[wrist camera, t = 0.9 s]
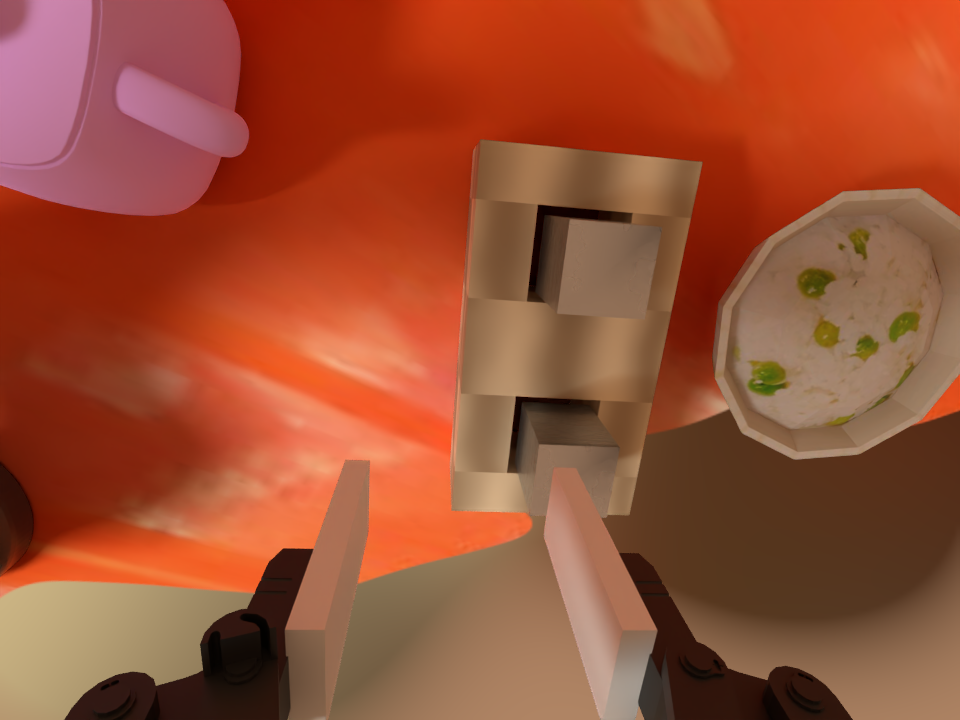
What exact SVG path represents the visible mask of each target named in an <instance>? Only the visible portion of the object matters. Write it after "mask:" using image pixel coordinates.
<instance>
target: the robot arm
mask: <svg viewBox="0 0 960 720" xmlns="http://www.w3.org/2000/svg"><path fill="white" fill-rule="evenodd" d="M369 467H370V461H363V460H345V463H344V466H343V469H342V471H341V474H340V477H339V480H338V483H337V485H336V488H335V491H334V494H333V497H332V499H331V502H330V505H329V508H328V511H327V513H326V516H325V519H324V522H323V525H322V527H321V530H320V533H319V536H318V538H317V541H316V544H315V547H314V549H286V548H283V549H282V550H281V551H280V552H279V553H278V554H277V555H276V556H275V557H274V558H273V559H272V560H271V561H270V562H269V563H268V565H267V567H266V569H265V572H264V574H263V576H262V578H261V581H260V582H259V584H258V587H257V589H256V591H255V594H254V595H253V598H252V600H251V602H250V604H249V606H248V608H247V609H241V610H238V611H235V612H232V613H229V614H227V615H225V616H223V617H222V618H220V619H219V620H217V621H216V622H214V623H213V624H212V625H211V626H210V628H209V629H208V630H207V631H206V632H205V634H204V636H203V639H202V641H201V644H200V646H201V655H202V664H203V671H201V672H199V673H197V674H194V675H192V676H189V677H186V678H183V679H180V680H176V681H173V682H169V683H165V684H162V685H158V686H156V685H155V682H154V679H153V678H151V677H150V676H148V675H147V674H145V673H139V672H129V673H123V674H118V675H115V676H113V677H111V678H109V679H106V680H104V681H102V682H100V683H98V684H97V685H96V686H95V687H93V688H92V689H90V690H89V691H88V692H86V693H85V694H84V695H83V696H82V697H81V698H80V699H79V700H78V702H77V703H76V704H75V705H74V706H73V708H72V709H71V710H70V712H69V714H68V715H67V716H66V718H65V720H287V719H288V716H289V720H328V718H329V713H330V709H331V704H332V699H333V695H334V690H335V686H336V681H337V676H338V671H339V667H340V662H341V658H342V652H343V648H344V643H345V639H346V634H347V629H348V625H349V619H350V615H351V611H352V606H353V601H354V596H355V592H356V587H357V583H358V578H359V573H360V568H361V564H362V559H363V554H364V550H365V545H366V540H367V536H368V522H369ZM32 532H33V517H32V512H31V508H30V505H29V502H28V500H27V498H26V496H25V494H24V492H23V490H22V488H21V487H20V485H19V484H18V483H17V481H16V480H15V479H14V477H13V476H12V475H11V474H10V473H9V472H8V471H7V470H6V469H5V468H4V467H3V466H2V465H1V464H0V576H2V575H3V574H4V573H5V572H6V571H7V570H9V569H10V568H11V567H12V566H13V565H14V564H15V563H16V562H18V561H19V559H20V558H21V557H22V556H23V555H24V553H25V552H26V550H27V548H28V546H29V544H30V541H31V538H32ZM544 538H545V541H546V544H547V548H548V551H549V554H550V558H551V561H552V564H553V567H554V571H555V574H556V577H557V580H558V584H559V586H560V590H561V593H562V597H563V600H564V603H565V606H566V610H567V613H568V616H569V619H570V623H571V626H572V629H573V632H574V636H575V639H576V642H577V645H578V649H579V652H580V655H581V658H582V662H583V665H584V668H585V671H586V675H587V678H588V681H589V684H590V688H591V691H592V694H593V698H594V701H595V704H596V707H597V711H598V714H599V717H600V720H635V718H636V714H637V710H638V706H639V707H640V709H641V712H642V714H643V717H644V719H645V720H853V719H852V718H851V717H850V715H849V714H848V712H847V711H846V710H845V708H844V707H843V706H842V704H841V703H840V701H839V700H838V699H837V697H836V696H835V695H834V694H833V693H832V692H831V691H830V689H829V688H828V687H827V686H826V685H825V684H823V683H822V682H821V681H819V680H818V679H817V678H815V677H814V676H812V675H811V674H808V673H806V672H804V671H802V670H800V669H797V668H793V667H788V666H782V667H776V668H775V669H774V670H773V671H772V672H770V674H769V677H768V680H764V679H761V678H757V677H753V676H750V675H746V674H743V673H739V672H737V671H734V670H731V669H728V668H727V666H726V664H725V662H724V661H723V660H722V659H721V658H720V657H719V656H718V655H717V654H716V652H714V651H712V650H711V649H710V648H708V647H707V646H705V645H704V644H701V643H698V642H696V640H695V638H694V636H693V635H692V633H691V631H690V630H689V628H688V626H687V624H686V623H685V621H684V619H683V617H682V616H681V614H680V612H679V610H678V609H677V607H676V605H675V604H674V602H673V600H672V598H671V597H669V593H668V591H667V590H666V588H665V586H664V585H663V584H662V581H661V579H660V578H659V576H658V574H657V572H656V571H655V569H654V567H653V566H652V565H651V564H650V563H649V562H647V561H646V560H645V559H644V558H643V557H642V556H641V555H640V554H637V553H636V554H635V553H618V551H617V549H616V547H615V545H614V543H613V541H612V539H611V537H610V535H609V533H608V531H607V529H606V527H605V525H604V523H603V521H602V519H601V517H600V515H599V513H598V511H597V509H596V507H595V505H594V503H593V501H592V499H591V497H590V495H589V493H588V491H587V489H586V487H585V485H584V483H583V481H582V479H581V477H580V475H579V473H578V471H577V469H576V468H561V467H554V469H553V476H552V483H551V490H550V496H549V503H548V510H547V516H546V523H545V530H544Z"/></svg>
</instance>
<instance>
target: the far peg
mask: <svg viewBox="0 0 960 720" xmlns="http://www.w3.org/2000/svg"><path fill="white" fill-rule="evenodd" d="M619 450H620V447H619V446H618V444H617V443H616V441H615V440H614V439H613V437H612V436H611V434H610V433H609V432H608V430H607V429H606V427H605V426H604V425H603V423H602V422H601V421H600V419H599V418H598V416H597V415H596V414H595V412H594V411H593V409H592V408H591V407H590V405H580V404H559V403H539V402H522V407H521V415H520V423H519V432H518V440H517V448H516V457H515V465H516V469H517V473H518V476H519V480H520V483H521V487H522V490H523V494H524V497H525V501H526V504H527V508H528V512H529V515H530V516H547V510H548V503H549V496H550V490H551V483H552V476H553V469H554V467H561V468H576V469H577V471H578V473H579V475H580V477H581V479H582V481H583V483H584V485H585V487H586V489H587V491H588V493H589V495H590V497H591V499H592V501H593V503H594V505H595V507H596V509H597V511H598V513H599V515H600V517H604V518H605V517H607V513H608V508H609V502H610V497H611V492H612V487H613V482H614V476H615V471H616V466H617V461H618V456H619Z"/></svg>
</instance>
